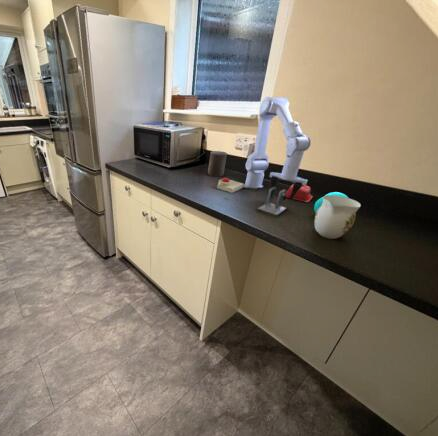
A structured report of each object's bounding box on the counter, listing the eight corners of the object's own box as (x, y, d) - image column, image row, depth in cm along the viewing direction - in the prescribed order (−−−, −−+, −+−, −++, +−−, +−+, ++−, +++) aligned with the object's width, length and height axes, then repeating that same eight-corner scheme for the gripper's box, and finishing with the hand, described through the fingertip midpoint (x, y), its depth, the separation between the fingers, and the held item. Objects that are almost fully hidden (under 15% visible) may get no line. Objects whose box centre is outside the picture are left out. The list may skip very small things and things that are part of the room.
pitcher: (353, 231, 87) (371, 197, 80) (336, 248, 77) (354, 211, 71) (320, 220, 95) (334, 188, 88) (301, 234, 85) (314, 199, 78)
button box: (227, 182, 133) (229, 176, 131) (243, 187, 127) (245, 180, 125) (215, 187, 126) (216, 180, 124) (231, 193, 120) (232, 185, 118)
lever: (277, 199, 107) (280, 193, 107) (284, 201, 105) (288, 195, 105) (270, 195, 99) (273, 188, 98) (277, 197, 97) (281, 190, 96)
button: (224, 180, 126) (224, 177, 126) (229, 181, 124) (230, 178, 123) (220, 181, 124) (220, 178, 124) (226, 183, 122) (226, 180, 121)
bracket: (267, 204, 108) (273, 184, 103) (285, 210, 102) (292, 189, 98) (257, 210, 102) (262, 189, 97) (275, 217, 97) (282, 195, 92)
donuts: (309, 215, 98) (317, 193, 93) (318, 209, 104) (327, 188, 99) (337, 225, 91) (347, 202, 86) (345, 218, 97) (356, 195, 92)
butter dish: (312, 197, 115) (319, 181, 111) (307, 204, 108) (313, 187, 104) (287, 191, 122) (292, 176, 118) (280, 198, 115) (285, 181, 111)
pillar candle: (217, 178, 141) (221, 153, 134) (204, 174, 148) (207, 150, 141) (226, 175, 146) (230, 150, 139) (213, 171, 153) (217, 148, 146)
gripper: (269, 164, 101) (262, 193, 107) (307, 171, 91) (296, 203, 98) (276, 161, 105) (269, 189, 111) (313, 168, 95) (302, 199, 102)
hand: (282, 195), depth 105 cm, fingers open, 7 cm apart
